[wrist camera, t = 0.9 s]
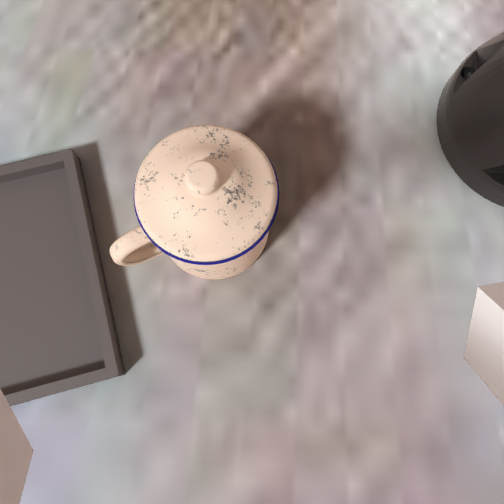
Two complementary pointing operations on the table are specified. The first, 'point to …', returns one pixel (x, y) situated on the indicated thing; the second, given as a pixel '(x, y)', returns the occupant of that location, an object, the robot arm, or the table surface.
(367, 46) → the table surface
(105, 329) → the tea tray
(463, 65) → the robot arm
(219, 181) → the teacup with lid
